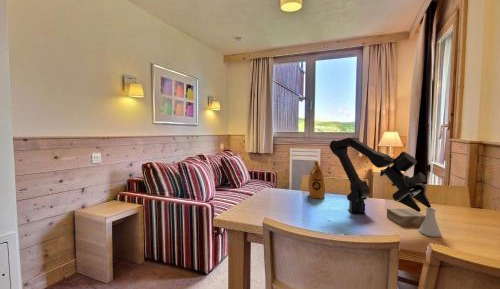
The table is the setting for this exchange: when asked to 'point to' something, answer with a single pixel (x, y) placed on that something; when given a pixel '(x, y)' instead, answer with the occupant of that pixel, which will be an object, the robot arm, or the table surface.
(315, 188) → the coffee package
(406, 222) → the walnut block
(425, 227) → the flask
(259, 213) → the table surface
